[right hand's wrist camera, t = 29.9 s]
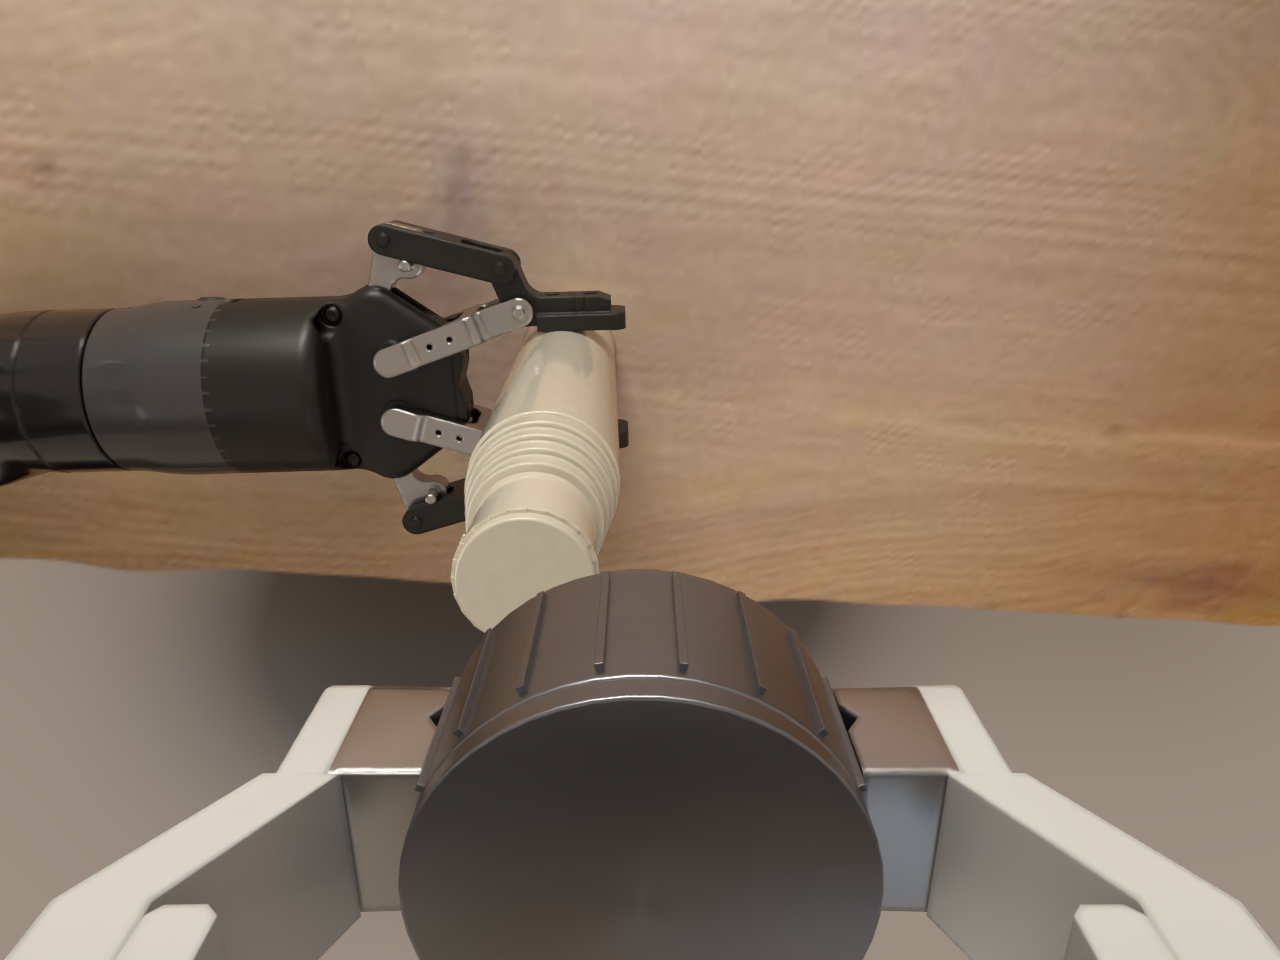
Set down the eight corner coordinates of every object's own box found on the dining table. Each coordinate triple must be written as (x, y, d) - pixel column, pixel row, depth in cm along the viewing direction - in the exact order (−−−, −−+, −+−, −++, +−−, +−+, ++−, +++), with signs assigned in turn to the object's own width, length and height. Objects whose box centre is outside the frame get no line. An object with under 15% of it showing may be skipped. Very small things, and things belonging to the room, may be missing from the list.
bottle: (510, 322, 44) (388, 529, 19) (595, 290, 44) (582, 461, 19) (544, 405, 46) (472, 694, 21) (627, 375, 45) (652, 634, 21)
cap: (588, 941, 11) (576, 1136, 9) (365, 690, 10) (286, 846, 8) (902, 785, 11) (974, 959, 8) (703, 487, 9) (722, 596, 7)
